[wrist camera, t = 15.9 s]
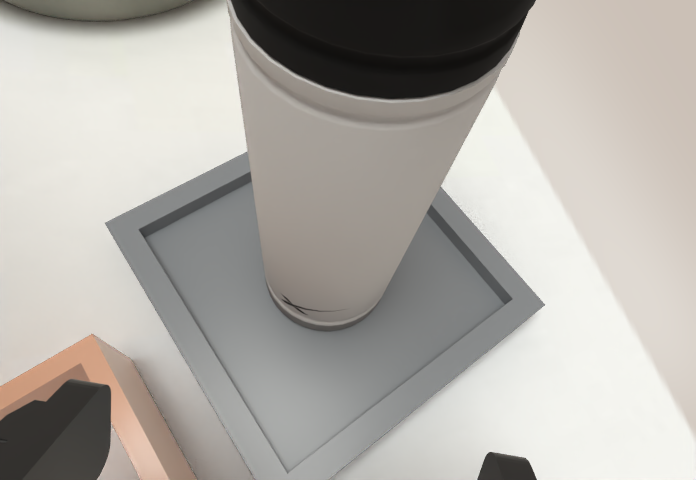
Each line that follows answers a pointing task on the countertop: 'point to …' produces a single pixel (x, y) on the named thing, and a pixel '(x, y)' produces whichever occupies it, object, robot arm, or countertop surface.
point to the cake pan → (98, 8)
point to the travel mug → (356, 133)
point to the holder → (126, 404)
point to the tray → (308, 344)
